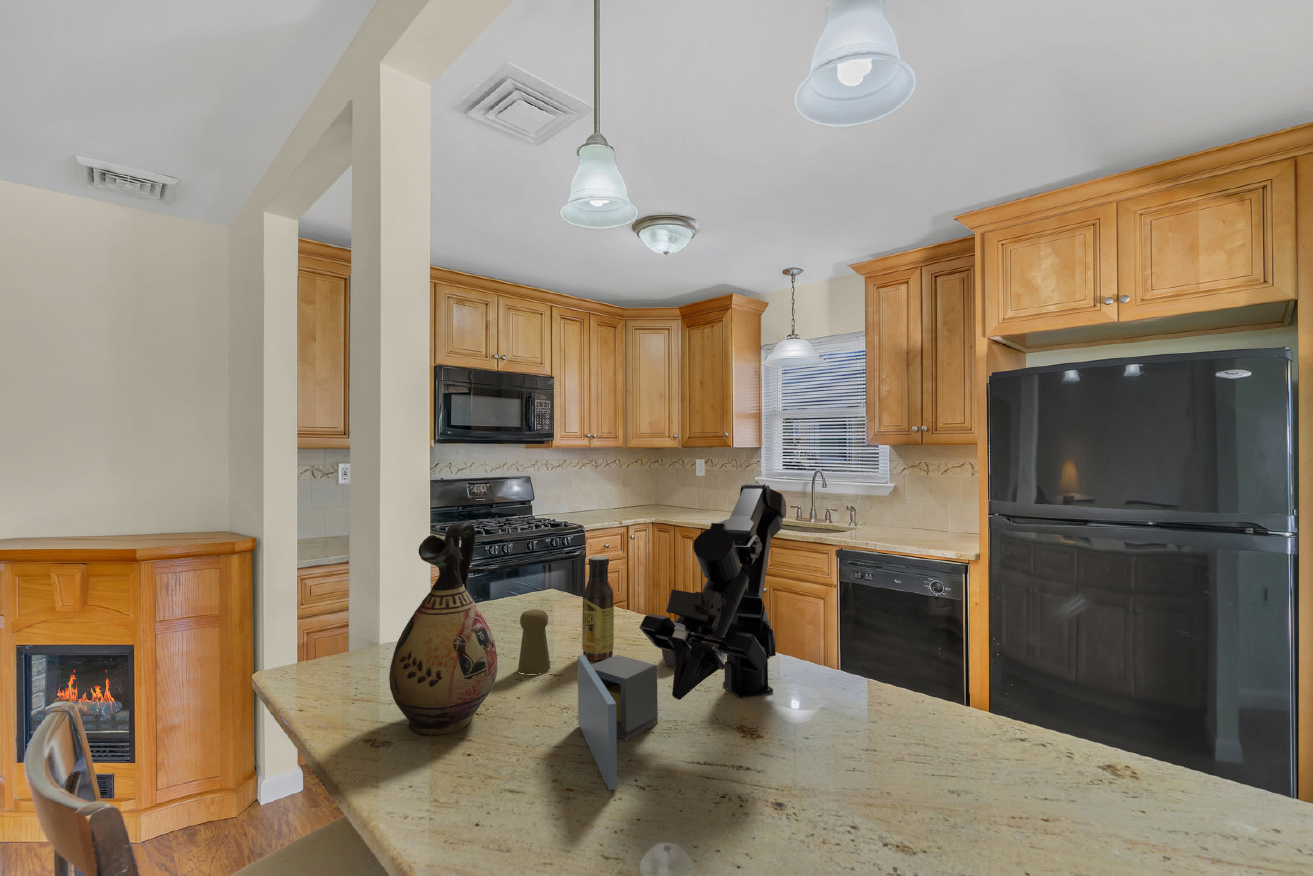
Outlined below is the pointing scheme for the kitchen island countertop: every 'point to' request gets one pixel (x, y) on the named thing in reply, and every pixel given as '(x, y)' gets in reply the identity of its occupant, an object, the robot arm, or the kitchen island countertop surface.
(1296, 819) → the kitchen island countertop surface
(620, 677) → the camera case
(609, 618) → the sauce bottle
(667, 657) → the perforated stone tool
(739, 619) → the robot arm
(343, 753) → the kitchen island countertop surface
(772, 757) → the kitchen island countertop surface
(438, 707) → the ceramic jug
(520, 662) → the cork
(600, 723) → the side door
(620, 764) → the kitchen island countertop surface
